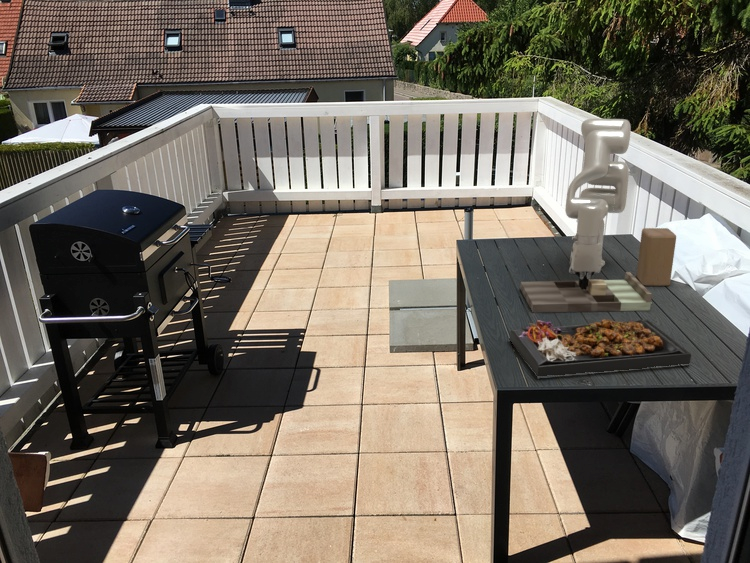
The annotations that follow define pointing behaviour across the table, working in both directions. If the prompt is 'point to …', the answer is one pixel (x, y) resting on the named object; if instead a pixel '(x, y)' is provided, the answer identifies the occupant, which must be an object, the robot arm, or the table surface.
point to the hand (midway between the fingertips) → (583, 288)
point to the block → (656, 256)
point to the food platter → (596, 347)
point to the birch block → (597, 287)
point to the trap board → (586, 296)
